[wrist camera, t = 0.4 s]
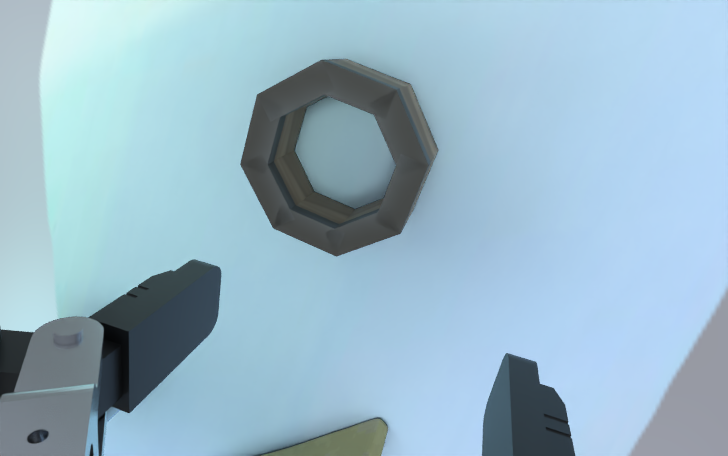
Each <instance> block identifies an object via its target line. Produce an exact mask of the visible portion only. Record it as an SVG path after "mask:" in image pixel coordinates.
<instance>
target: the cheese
mask: <svg viewBox="0 0 728 456" xmlns="http://www.w3.org/2000/svg"><path fill="white" fill-rule="evenodd" d="M387 431H388V427H387V425H386V424H385V423H384V422H383V421H382V420H381V419H372V420H369V421H366V422H363V423H360V424H357V425H354V426H352V427H349V428H346V429H343V430H340V431H337V432H334V433H331V434H328V435H325V436H322V437H319V438H316V439H313V440H310V441H307V442H304V443H301V444H298V445H295V446H292V447H289V448H286V449H282V450H279V451H275V452H272V453H268V454H264V455H260V456H381V454H382V450H383V446H384V443H385V439H386V435H387Z"/></svg>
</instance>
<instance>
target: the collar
mask: <svg viewBox="0 0 728 456" xmlns="http://www.w3.org/2000/svg"><path fill="white" fill-rule="evenodd" d="M327 96H329V97H331V98H334V99H336V100H339V101H341V102H344V103H346V104H349V105H351V106H354V107H356V108H359V109H361V110H364V111H366V112H368V113H371V114H373V115H374V116H375V118H376V120H377V123H378V125H379V127H380V129H381V132H382V134H383V136H384V138H385V141H386V143H387V145H388V148H389V150H390V152H391V154H392V157H393V159H394V161H395V163H396V167H395V170H394V173H393V175H392V178H391V180H390V183H389V186H388V188H387V191H386V193H385V196H384V198H382V199H380V200H377V201H375V202H372V203H370V204H367V205H365V206H362V207H359V208H357V209H353V208H351V207H349V206H346V205H344V204H342V203H339V202H337V201H335V200H332V199H330V198H328V197H325V196H323V195H321V194H319V193H316V192H314V190H313V188H312V186H311V184H310V182H309V180H308V178H307V176H306V174H305V171H304V169H303V167H302V165H301V163H300V161H299V159H298V157H297V155H296V153H295V151H294V150H295V146H296V143H297V139H298V136H299V132H300V129H301V125H302V122H303V118H304V115H305V111H306V108H307V106H309V105H311V104H313V103H315V102H317V101H319V100H321V99H323V98H325V97H327ZM437 152H438V148H437V146H436V143H435V141H434V139H433V136H432V134H431V131H430V129H429V127H428V124H427V122H426V119H425V117H424V115H423V112H422V110H421V108H420V105H419V103H418V100H417V98H416V96H415V93H414V91H413V88H412V86H411V84H409V83H406V82H403V81H401V80H398V79H396V78H393V77H391V76H388V75H386V74H383V73H381V72H378V71H375V70H373V69H370V68H368V67H365V66H363V65H360V64H358V63H355V62H353V61H350V60H348V59H332V60H320V61H319V62H317V63H315V64H313V65H311V66H309V67H308V68H306V69H304V70H302V71H300V72H298V73H296V74H295V75H293V76H291V77H289V78H287V79H285V80H283V81H282V82H280V83H278V84H276V85H274V86H272V87H270V88H269V89H267V90H265V91H263V92H261V93H259V94H257V97H256V101H255V106H254V110H253V114H252V118H251V122H250V126H249V131H248V135H247V139H246V143H245V147H244V152H243V156H242V160H241V164H240V165H241V167H242V169H243V170H244V172H245V174H246V176H247V178H248V180H249V182H250V184H251V186H252V188H253V190H254V192H255V194H256V196H257V198H258V200H259V202H260V204H261V205H262V207H263V209H264V211H265V213H266V215H267V217H268V219H269V221H270V223H271V225H272V227H273V228H274V229H276V230H278V231H281V232H283V233H285V234H287V235H290V236H292V237H294V238H296V239H298V240H301V241H303V242H305V243H307V244H310V245H312V246H314V247H316V248H319V249H321V250H323V251H325V252H328V253H330V254H332V255H334V256H339V255H342V254H345V253H347V252H350V251H353V250H356V249H359V248H361V247H364V246H367V245H370V244H373V243H375V242H378V241H381V240H384V239H387V238H390V237H392V236H395V235H398V234H400V233H401V232H402V230H403V228H404V226H405V224H406V222H407V221H408V219H409V217H410V215H411V213H412V211H413V209H414V207H415V205H416V202H417V200H418V197H419V195H420V193H421V190H422V188H423V185H424V183H425V181H426V178H427V176H428V173H429V171H430V169H431V166H432V164H433V162H434V159H435V157H436V154H437Z"/></svg>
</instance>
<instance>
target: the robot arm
mask: <svg viewBox="0 0 728 456" xmlns="http://www.w3.org/2000/svg"><path fill="white" fill-rule="evenodd" d="M220 284H221V269H220V268H219V267H218V266H215V265H211V264H208V263H205V262H201V261H198V260H191V261H189V262H188V263H186V264H185V265H183V266H182V267H180V268H179V269H177V270H176V271H171V270H170V271H167V272H164V273H161V274H158V275H154V276H152V277H150V278H149V279H147V280H146V281H144V282H142V283H141V284H139V285H138V287H135V288H133V289H132V290H130V291H129V292H127V294H126V295H125V294H124V295H122V296H121V297H119V298H118V299H116V300H115V301H113V302H112V303H110V304H109V305H107V306H106V307H104V308H102V309H101V310H99V311H98V312H96V313H95V314H93V315H92V316H90V317H89V318H86V317H66V318H60V319H57V320H53V321H51V322H49V323H46V324H44V325H43V326H41V327H39V328H38V329H37V330H36V331H35V332H22V331H11V330H1V329H0V456H104V447H105V435H106V423H107V422H108V421H109V420H110V419H111V418H112V417H113V416H114V415H115V414H116V413H117V412H118V411H119V410H122V411H125V412H127V413H130V412H131V411H132V410H133V409H134V408H135V407H136V406H137V405H138V404H139V403H140V402H141V401H142V400H143V399H144V398H145V397H146V396H147V395H148V394H149V393H150V392H151V391H152V390H153V389H155V388H156V387H157V386H158V385H159V384H160V383H161V382H162V381H163V380H164V379H165V378H166V377H167V376H168V375H169V374H170V373H171V372H172V371H173V370H174V369H175V368H176V367H177V366H178V365H179V364H180V363H181V362H182V361H183V360H184V359H185V358H186V357H187V356H188V355H189V354H190V353H191V352H192V351H193V350H194V349H195V348H196V347H197V346H198V345H199V344H200V343H201V342H202V341H203V340H204V339H205V338H206V337H207V336H208V335H209V334H210V333H211V331H212V330H213V328H214V326H215V324H216V321H217V317H218V310H219V297H220ZM482 456H575V452H574V447H573V442H572V439H571V432H570V427H569V425H568V417H567V412H566V407H565V404H564V403H563V401H562V400H561V398H560V397H559V395H558V394H557V392H556V391H555V390H554V388H551V387H548V386H545V385H542V384H540V382H539V375H538V368H537V363H536V362H535V361H531V360H528V359H525V358H521V357H518V356H515V355H512V354H508V353H506V354H505V356H504V358H503V360H502V363H501V366H500V369H499V371H498V374H497V377H496V380H495V382H494V385H493V388H492V391H491V393H490V396H489V399H488V402H487V406H486V410H485V414H484V421H483V445H482Z"/></svg>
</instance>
